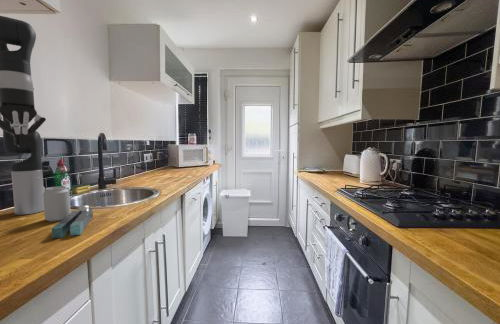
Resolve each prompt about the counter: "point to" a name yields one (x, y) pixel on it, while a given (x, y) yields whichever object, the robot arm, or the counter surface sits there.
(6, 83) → the robot arm
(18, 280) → the counter surface
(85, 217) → the tong arm
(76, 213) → the tong base
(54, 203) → the can
